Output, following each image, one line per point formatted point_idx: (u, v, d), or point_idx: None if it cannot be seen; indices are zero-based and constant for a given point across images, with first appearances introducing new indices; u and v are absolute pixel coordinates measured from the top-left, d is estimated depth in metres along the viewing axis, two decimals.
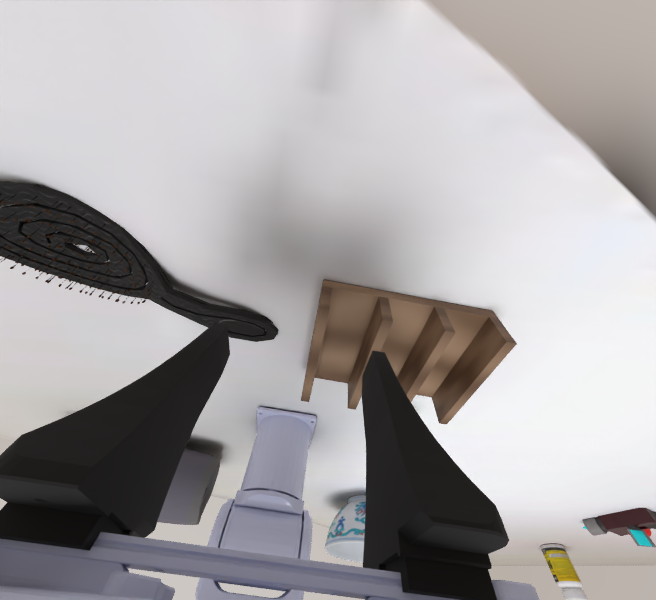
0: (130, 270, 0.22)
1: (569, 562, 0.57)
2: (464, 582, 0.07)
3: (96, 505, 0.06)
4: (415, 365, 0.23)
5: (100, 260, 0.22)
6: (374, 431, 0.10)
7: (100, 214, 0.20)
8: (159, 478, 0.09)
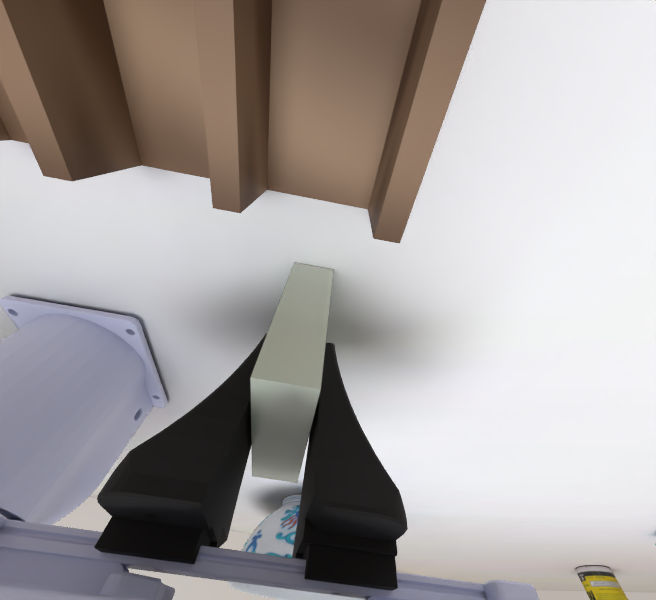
0: None
1: (623, 595, 0.38)
2: (366, 569, 0.06)
3: (206, 520, 0.06)
4: None
5: None
6: (313, 421, 0.10)
7: None
8: (234, 489, 0.09)
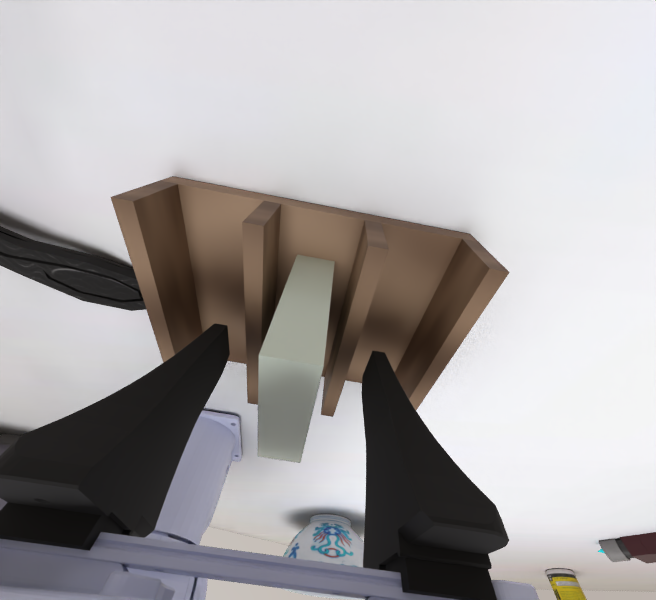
0: None
1: (580, 592, 0.47)
2: (464, 582, 0.07)
3: (96, 505, 0.06)
4: (341, 329, 0.14)
5: None
6: (374, 431, 0.10)
7: None
8: (159, 478, 0.09)
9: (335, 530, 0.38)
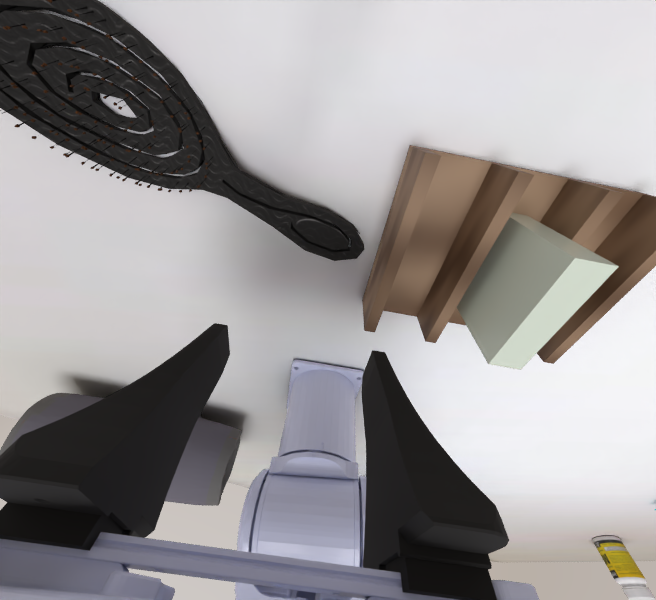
0: (180, 144, 0.16)
1: (629, 556, 0.50)
2: (464, 582, 0.07)
3: (96, 505, 0.06)
4: None
5: (139, 127, 0.16)
6: (374, 431, 0.10)
7: (146, 39, 0.14)
8: (159, 478, 0.09)
9: None
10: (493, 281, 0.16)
